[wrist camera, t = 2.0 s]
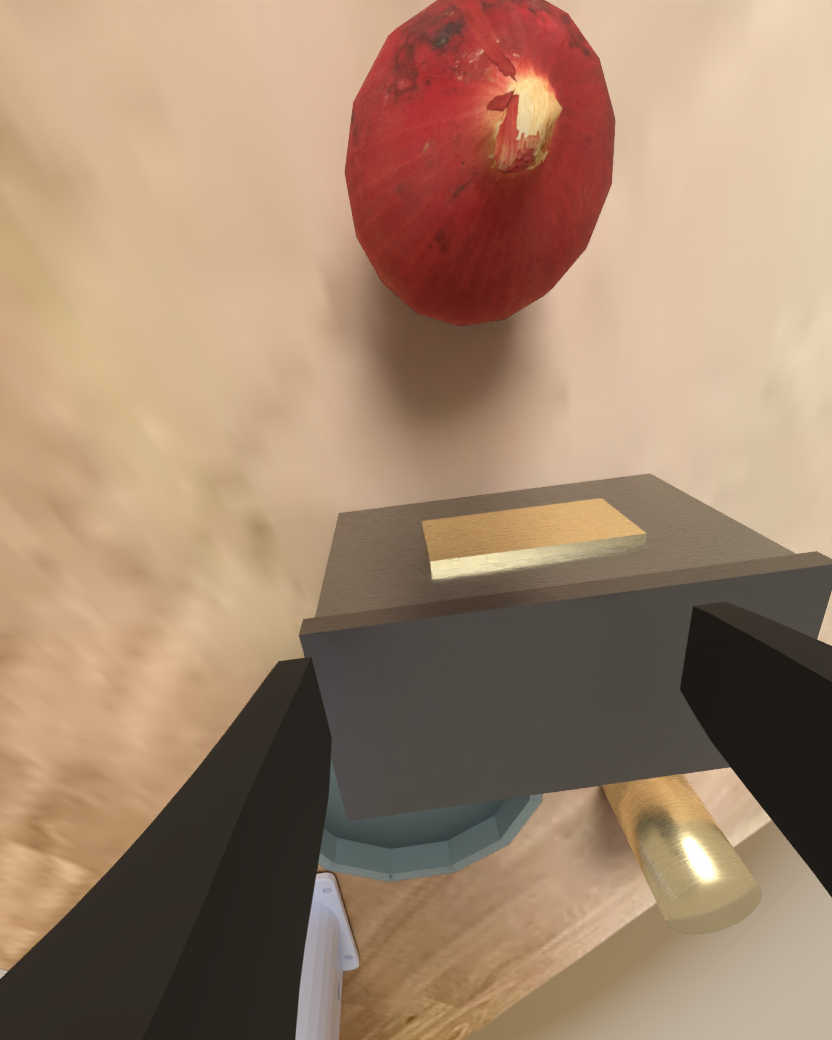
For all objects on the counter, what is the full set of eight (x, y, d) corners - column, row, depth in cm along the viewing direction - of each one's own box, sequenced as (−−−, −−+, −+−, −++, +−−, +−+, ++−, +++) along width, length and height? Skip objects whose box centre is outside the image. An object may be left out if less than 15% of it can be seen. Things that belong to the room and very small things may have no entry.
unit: (641, 608, 20) (781, 759, 13) (359, 645, 20) (347, 821, 13) (656, 465, 17) (841, 559, 10) (332, 506, 17) (298, 631, 10)
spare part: (670, 794, 25) (751, 926, 20) (599, 804, 25) (660, 940, 19) (679, 742, 23) (770, 869, 18) (603, 753, 23) (670, 884, 18)
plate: (529, 816, 25) (542, 860, 23) (307, 848, 25) (300, 894, 23) (526, 636, 20) (542, 671, 18) (250, 673, 20) (235, 712, 18)
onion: (316, 170, 13) (231, -30, 6) (495, 48, 12) (665, -368, 5) (415, 357, 15) (446, 386, 8) (573, 263, 14) (771, 196, 7)
